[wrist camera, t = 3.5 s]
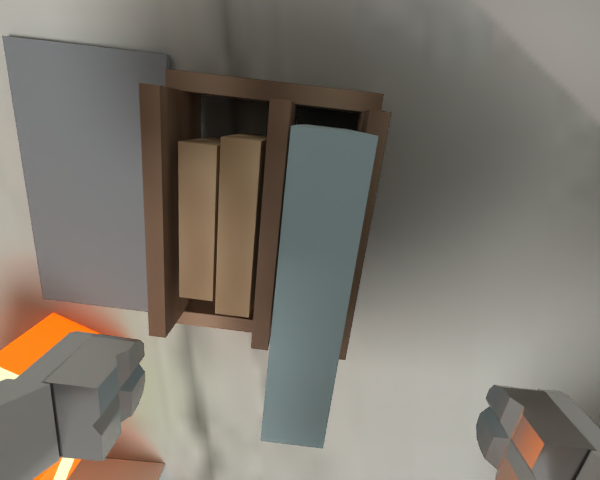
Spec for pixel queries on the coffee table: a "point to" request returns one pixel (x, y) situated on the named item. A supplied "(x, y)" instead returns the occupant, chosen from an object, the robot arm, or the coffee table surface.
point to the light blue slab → (314, 277)
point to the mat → (84, 166)
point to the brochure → (116, 470)
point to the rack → (282, 115)
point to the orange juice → (29, 351)
